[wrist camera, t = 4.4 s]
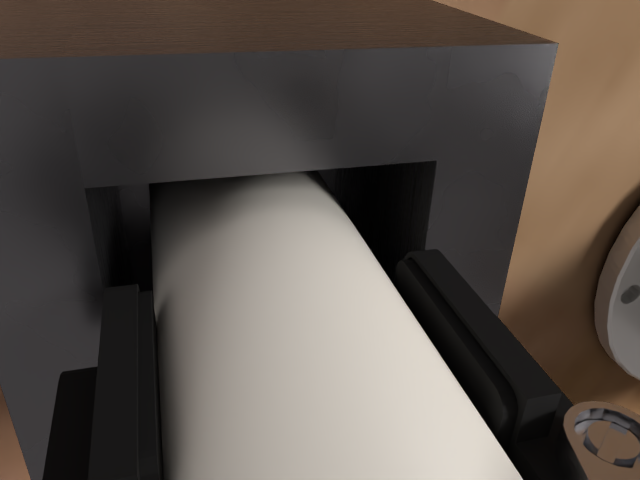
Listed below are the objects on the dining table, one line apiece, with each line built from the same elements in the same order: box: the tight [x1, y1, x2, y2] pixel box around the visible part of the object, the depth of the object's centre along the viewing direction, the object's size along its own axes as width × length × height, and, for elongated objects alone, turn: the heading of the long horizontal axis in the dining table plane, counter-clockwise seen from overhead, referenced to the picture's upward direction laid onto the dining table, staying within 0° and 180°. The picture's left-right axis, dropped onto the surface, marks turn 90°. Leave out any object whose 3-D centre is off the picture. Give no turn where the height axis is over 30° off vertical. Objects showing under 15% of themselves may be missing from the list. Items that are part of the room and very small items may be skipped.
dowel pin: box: [149, 170, 523, 480], centre depth 11 cm, size 4×4×12 cm
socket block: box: [0, 0, 559, 480], centre depth 14 cm, size 10×10×7 cm
